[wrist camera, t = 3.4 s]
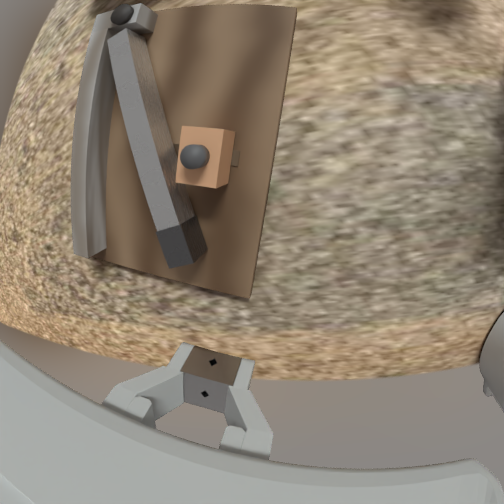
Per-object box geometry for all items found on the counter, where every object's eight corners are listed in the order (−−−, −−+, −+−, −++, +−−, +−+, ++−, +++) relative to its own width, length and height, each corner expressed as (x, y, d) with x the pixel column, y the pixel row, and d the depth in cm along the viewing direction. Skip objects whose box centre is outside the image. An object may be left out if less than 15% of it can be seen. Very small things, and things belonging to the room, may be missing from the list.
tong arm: (146, 37, 18) (126, 26, 15) (207, 248, 24) (193, 263, 21) (126, 49, 19) (105, 40, 16) (185, 254, 24) (169, 268, 21)
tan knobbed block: (235, 132, 20) (218, 127, 16) (228, 183, 21) (210, 191, 17) (198, 128, 20) (174, 124, 16) (191, 177, 22) (167, 184, 18)
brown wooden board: (297, 12, 17) (293, -14, 12) (251, 293, 26) (239, 321, 21) (107, 25, 19) (79, 14, 15) (86, 250, 28) (59, 265, 24)
